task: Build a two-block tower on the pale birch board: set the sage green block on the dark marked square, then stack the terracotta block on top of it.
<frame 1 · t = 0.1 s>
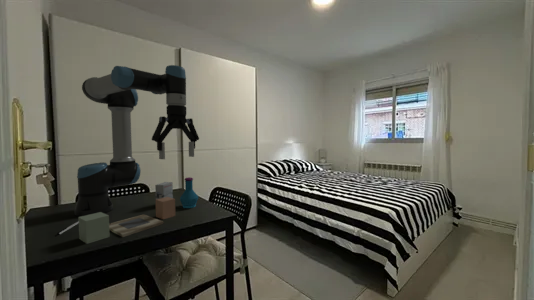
hand: (177, 157, 96), 28 cm above the table, tool pointing down, fingers open, 13 cm apart
terracotta block: (165, 216, 108), on the table
pen: (72, 227, 96), on the table
perfume bottle: (189, 206, 124), on the table
ink box: (164, 205, 126), on the table
sage block: (94, 237, 85), on the table
blueprint board: (134, 225, 97), on the table
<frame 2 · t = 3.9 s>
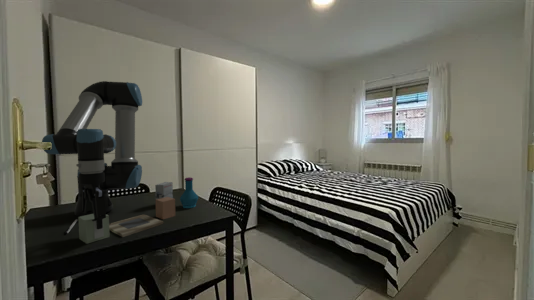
hand: (94, 234, 85), 1 cm above the table, tool pointing down, fingers closed on sage block, 7 cm apart
sage block: (94, 237, 85), on the table, touching gripper
when the fingers open (3 cm above the table, at t = 9.1 s): sage block stays where it is, resting on blueprint board.
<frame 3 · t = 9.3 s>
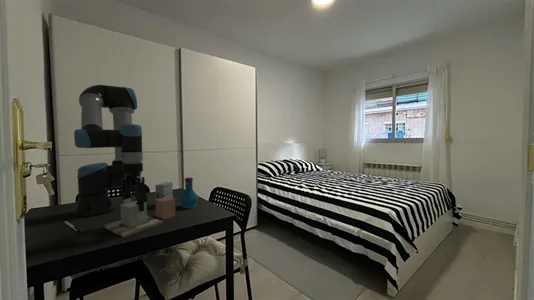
hand: (134, 216, 97), 4 cm above the table, tool pointing down, fingers open, 9 cm apart
sage block: (134, 222, 97), point 1 cm above the table, touching blueprint board
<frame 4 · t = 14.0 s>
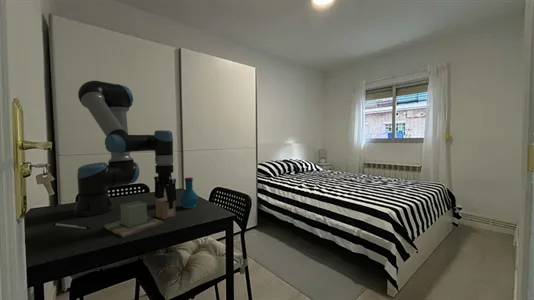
hand: (165, 214, 108), 1 cm above the table, tool pointing down, fingers closed on terracotta block, 6 cm apart
terracotta block: (165, 216, 108), on the table, touching gripper
when the fingers open (11 cm above the table, at t = 20.5 s): terracotta block stays where it is, resting on sage block.
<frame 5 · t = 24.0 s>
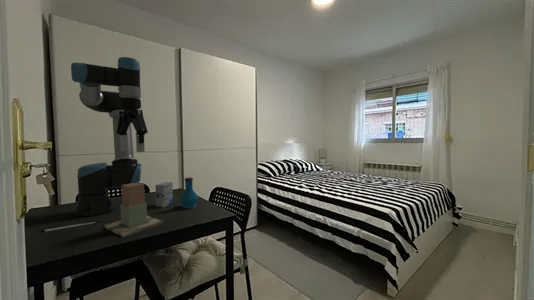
hand: (131, 151, 95), 31 cm above the table, tool pointing down, fingers open, 13 cm apart
terracotta block: (133, 203, 96), point 9 cm above the table, touching sage block
sage block: (134, 222, 97), point 1 cm above the table, touching blueprint board, terracotta block
at the end: sage block 0.0 cm off-centre on the blueprint board, point 1.1 cm above the blueprint board's base; terracotta block 0.0 cm off-centre on the sage block, point 8.0 cm above the sage block's base; terracotta block tilted 0° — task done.
